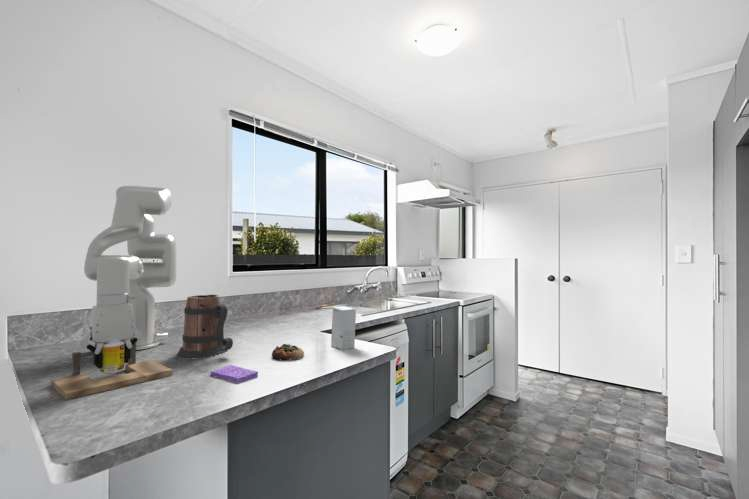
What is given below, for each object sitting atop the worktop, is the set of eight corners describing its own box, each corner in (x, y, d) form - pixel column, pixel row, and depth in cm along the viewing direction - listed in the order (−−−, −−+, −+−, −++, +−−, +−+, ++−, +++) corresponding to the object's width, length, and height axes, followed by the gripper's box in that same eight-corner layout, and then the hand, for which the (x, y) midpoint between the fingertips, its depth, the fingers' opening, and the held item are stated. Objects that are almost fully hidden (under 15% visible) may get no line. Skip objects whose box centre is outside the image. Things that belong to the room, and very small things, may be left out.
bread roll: (264, 358, 123) (266, 343, 124) (284, 355, 133) (285, 341, 134) (292, 364, 119) (293, 348, 119) (310, 359, 129) (312, 345, 129)
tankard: (165, 354, 129) (166, 296, 129) (209, 344, 143) (209, 292, 143) (207, 364, 116) (207, 301, 117) (250, 352, 131) (250, 296, 131)
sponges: (237, 385, 100) (238, 378, 100) (209, 376, 106) (209, 370, 106) (258, 377, 105) (258, 371, 105) (230, 370, 112) (230, 364, 112)
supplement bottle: (122, 373, 102) (123, 336, 102) (97, 375, 100) (98, 337, 100) (125, 367, 107) (126, 332, 107) (102, 369, 105) (103, 333, 105)
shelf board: (149, 363, 117) (150, 340, 117) (172, 374, 106) (172, 348, 106) (50, 384, 98) (50, 355, 98) (65, 399, 88) (66, 368, 88)
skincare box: (330, 345, 141) (330, 306, 141) (344, 343, 144) (344, 305, 145) (342, 350, 134) (342, 309, 134) (356, 348, 138) (356, 308, 138)
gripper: (142, 296, 113) (141, 355, 112) (71, 302, 99) (70, 369, 99) (152, 298, 108) (151, 360, 108) (78, 304, 95) (77, 375, 94)
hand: (112, 364), depth 103 cm, fingers closed on supplement bottle, 5 cm apart
